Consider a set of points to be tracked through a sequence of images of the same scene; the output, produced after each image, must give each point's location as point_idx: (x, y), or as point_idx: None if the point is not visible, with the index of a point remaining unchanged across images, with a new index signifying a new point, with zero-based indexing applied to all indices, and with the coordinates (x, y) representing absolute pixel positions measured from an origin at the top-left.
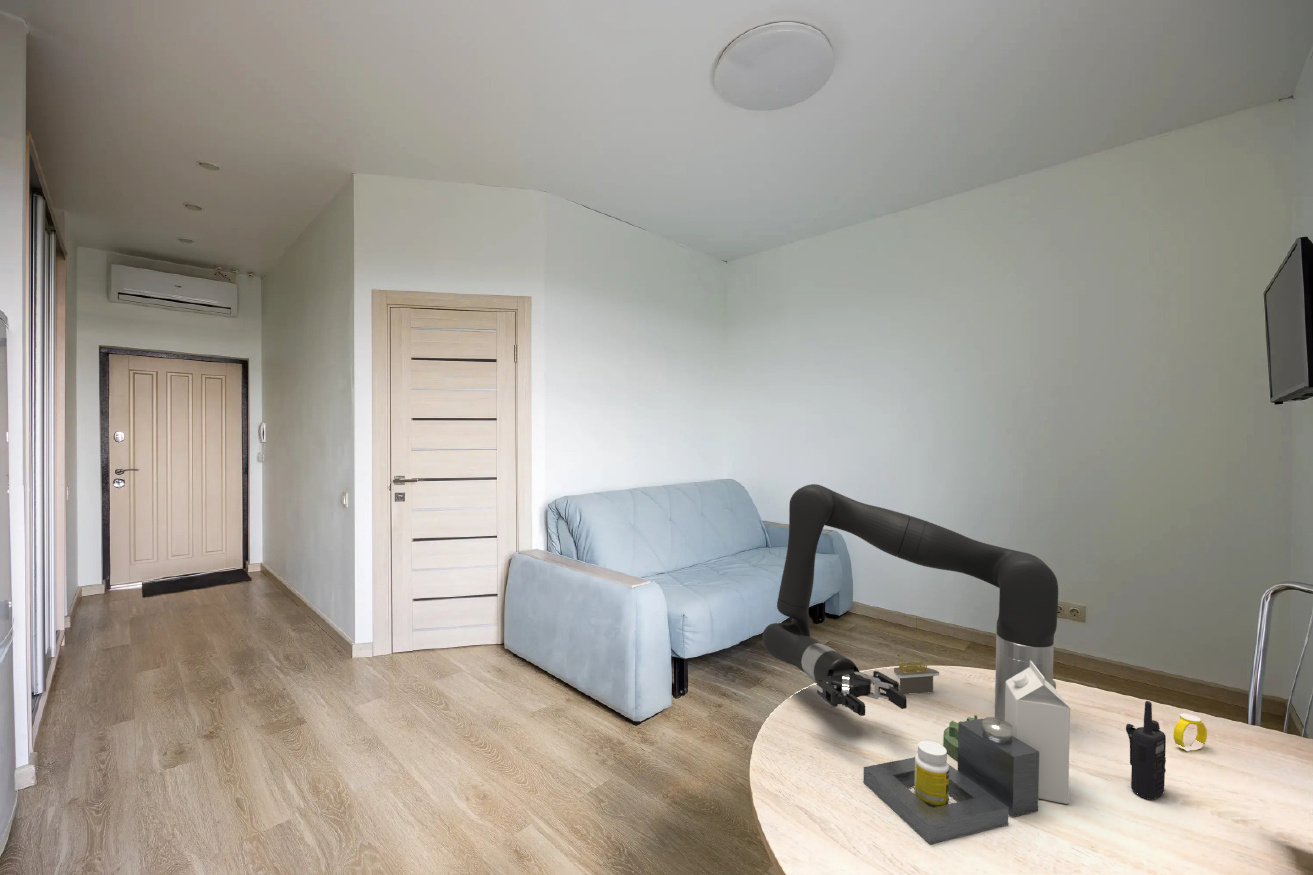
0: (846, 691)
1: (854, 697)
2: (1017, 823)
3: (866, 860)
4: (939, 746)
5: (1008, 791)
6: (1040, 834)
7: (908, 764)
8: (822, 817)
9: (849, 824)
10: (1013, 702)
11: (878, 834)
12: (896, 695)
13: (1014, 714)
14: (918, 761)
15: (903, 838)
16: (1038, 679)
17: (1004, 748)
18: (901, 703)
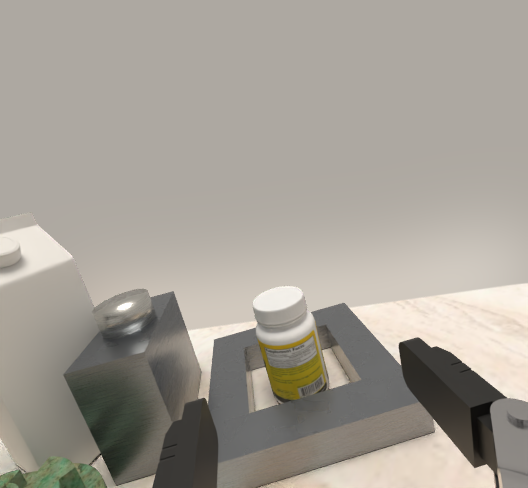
0: (510, 411)
1: (449, 375)
2: (206, 364)
3: (438, 298)
4: (260, 302)
5: (190, 347)
6: (198, 352)
7: (303, 418)
8: (521, 338)
9: (465, 333)
10: (56, 281)
11: (417, 326)
12: (203, 438)
13: (74, 297)
14: (311, 315)
15: (380, 326)
16: (7, 233)
17: (161, 302)
18: (212, 427)
